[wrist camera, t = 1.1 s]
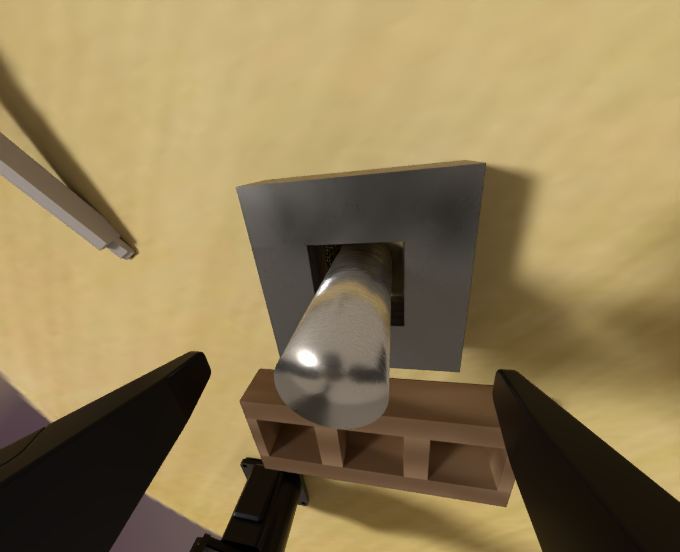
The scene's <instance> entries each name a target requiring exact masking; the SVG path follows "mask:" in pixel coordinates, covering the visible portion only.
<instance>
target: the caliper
mask: <svg viewBox="0 0 680 552" xmlns="http://www.w3.org/2000/svg"><path fill="white" fill-rule="evenodd" d="M0 175H2V176H3V177H4V178H5V179H7V180H8V181H9V182H11V183H12V184H13V185H15V186H16V187H17V188H18V189H20V190H21V191H22V192H24V193H25V194H26V195H28V196H29V197H30V198H32V199H33V200H34V201H35V202H37V203H38V204H39V205H41V206H42V207H43V208H45V209H46V210H47V211H49V212H50V213H51V214H53V215H54V216H55V217H56V218H58V219H59V220H60V221H62V222H63V223H64V224H66V225H67V226H68V227H70V228H71V229H72V230H74V231H75V232H76V233H77V234H79V235H80V236H81V237H83V238H84V239H85V240H87V241H88V242H89V243H91V244H92V245H93V246H95V247H96V248H97V249H99V250H102V249H104V248H106V247H107V248H108V249H109V250H111V251H112V252H113V253H114V254H116V255H117V256H118V257H120V258H124V259H126V260H127V259H129V258H130V257H131V256H132V255H134V254H135V251H134V250H133V249H132V248H131V247H130V246H128V245H127V244H126V243H125V242H123V241H122V240H121V239H120V238H119V237H120V234H119V233H118V232H117V231H116V230H115V229H114V228H113V227H112V226H111V225H110V224H109V223H108V221H107V220H106V219H105V218H104V217H103V216H102V215H100V214H99V213H98V212H97V211H96V210H94V209H93V208H92V207H91V206H89V205H88V204H87V203H86V202H85V201H83V200H82V199H81V198H80V197H79V196H77V195H76V194H75V193H74V192H72V191H71V190H70V189H69V188H68V187H66V186H65V185H64V184H63V183H61V182H60V181H59V180H58V179H57V178H55V177H54V176H53V175H52V174H51V173H49V172H48V171H47V170H46V169H44V168H43V167H42V166H41V165H40V164H38V163H37V162H36V161H35V160H34V159H32V158H31V157H30V156H29V155H27V154H26V153H25V152H24V151H23V150H21V149H20V148H19V147H18V146H16V145H15V144H14V143H13V142H12V141H10V140H9V139H8V138H7V137H6V136H4V135H3V134H2V133H1V132H0Z"/></svg>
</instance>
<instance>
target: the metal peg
mask: <svg viewBox="0 0 680 552" xmlns="http://www.w3.org/2000/svg"><path fill="white" fill-rule="evenodd" d="M391 275H392V259H391V255H390V253H389V251H388V249H387V248H386V246H385V245H384V244H382V243H381V242H379V243H354V244H344V245H343V246H342V247H341V249H340V250H339V252H338V254H337V256H336V258H335V259H334V261H333V263H332V265H331V267H330V268H329V270H328V272H327V274H326V276H325V278H324V279H323V281H322V283H321V285H320V287H319V288H318V290H317V292H316V294H315V296H314V298H313V299H312V301H311V303H310V305H309V307H308V308H307V310H306V312H305V314H304V316H303V318H302V319H301V321H300V323H299V325H298V327H297V328H296V330H295V332H294V334H293V336H292V338H291V339H290V341H289V343H288V345H287V347H286V348H285V350H284V352H283V354H282V356H281V358H280V359H279V361H278V363H277V365H276V368H275V371H274V382H275V386H276V389H277V392H278V394H279V395H280V397H281V398H282V400H283V401H284V402H285V403H286V405H287V406H288V407H289V408H290V409H292V410H293V411H294V412H295V413H297V414H298V415H300V416H301V417H303V418H305V419H306V420H308V421H311V422H313V423H315V424H318V425H321V426H325V427H329V428H335V429H353V428H359V427H363V426H366V425H368V424H371V423H373V422H374V421H376V420H377V419H378V418H379V417H380V416H381V415H382V414H383V413H384V411H385V410H386V408H387V405H388V401H389V367H390V321H391Z"/></svg>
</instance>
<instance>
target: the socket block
mask: <svg viewBox="0 0 680 552" xmlns="http://www.w3.org/2000/svg"><path fill="white" fill-rule="evenodd" d="M485 167H486V163H483V162H475V161H468V160H463V161H453V162H443V163H433V164H422V165H412V166H402V167H392V168H382V169H372V170H362V171H352V172H342V173H332V174H322V175H312V176H302V177H292V178H282V179H272V180H264V181H260V182H256V183H251V184H247V185H242V186H238V187H236V189H237V193H238V197H239V201H240V205H241V209H242V213H243V216H244V220H245V224H246V228H247V232H248V236H249V239H250V243H251V247H252V251H253V255H254V259H255V263H256V266H257V270H258V274H259V278H260V282H261V286H262V289H263V293H264V297H265V301H266V305H267V309H268V313H269V316H270V320H271V324H272V328H273V332H274V336H275V339H276V343H277V347H278V351H279V355H280V358H281V356H282V354H283V352H284V350H285V348H286V347H287V345H288V343H289V341H290V339H291V338H292V336H293V334H294V332H295V330H296V328H297V327H298V325H299V323H300V321H301V319H302V318H303V316H304V314H305V312H306V310H307V308H308V307H309V305H310V303H311V301H312V299H313V298H314V296H315V294H316V292H317V290H318V288H319V287H320V285H321V283H322V281H323V279H324V278H325V276H326V274H327V272H328V266H327V258H326V251H325V245H328V244H354V243H379V242H403V296H391V321H390V367H389V368H401V369H417V370H433V371H449V372H460V366H461V358H462V350H463V342H464V334H465V326H466V318H467V310H468V302H469V294H470V286H471V278H472V270H473V262H474V255H475V247H476V239H477V231H478V223H479V215H480V207H481V199H482V191H483V183H484V175H485Z"/></svg>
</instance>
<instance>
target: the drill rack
mask: <svg viewBox="0 0 680 552" xmlns="http://www.w3.org/2000/svg"><path fill="white" fill-rule="evenodd" d="M274 371H275V370H267V369H259V370H258V372H257V374H256V375H255V377H254V378H253V380H252V382H251V383H250V385H249V386H248V388H247V390H246V391H245V393H244V395H243V396H242V398H241V399H240V404H241V407H242V409H243V412H244V414H245V417H246V420H247V422H248V425H249V427H250V430H251V433H252V435H253V438H254V441H255V443H256V446H257V448H258V451H259V454H260V456H261V459H262V461H263V464H264V467H265V468H267V469H273V470H279V471H285V472H292V473H298V474H304V475H310V476H316V477H323V478H329V479H335V480H341V481H347V482H354V483H360V484H366V485H372V486H378V487H385V488H391V489H397V490H403V491H409V492H416V493H422V494H428V495H434V496H440V497H447V498H453V499H459V500H465V501H471V502H477V503H484V504H490V505H496V506H502V507H507V504H508V500H509V497H510V494H511V491H512V488H513V485H514V482H515V477H514V474H513V471H512V468H511V465H510V462H509V459H508V455H507V452H506V448H505V444H504V440H503V436H502V433H501V429H500V425H499V421H498V417H497V413H496V410H495V406H494V402H493V397H492V390H493V386H490V385H476V384H462V383H448V382H434V381H420V380H406V379H392V378H389V401H388V405H387V408H386V410H385V411H384V413H383V414H382V415H381V416H380V417H379V418H378V419H377V420H376V421H374V422H373V423H371V424H368V425H366V426H363V427H359V428H353V429H335V428H329V427H325V426H321V425H318V424H315V423H313V422H311V421H308V420H306V419H305V418H303V417H301V416H300V415H298V414H297V413H295V412H294V411H293V410H292V409H290V408H289V407H288V406H287V405H286V403H285V402H284V401H283V400H282V398H281V397H280V395H279V394H278V392H277V389H276V386H275V382H274Z"/></svg>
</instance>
